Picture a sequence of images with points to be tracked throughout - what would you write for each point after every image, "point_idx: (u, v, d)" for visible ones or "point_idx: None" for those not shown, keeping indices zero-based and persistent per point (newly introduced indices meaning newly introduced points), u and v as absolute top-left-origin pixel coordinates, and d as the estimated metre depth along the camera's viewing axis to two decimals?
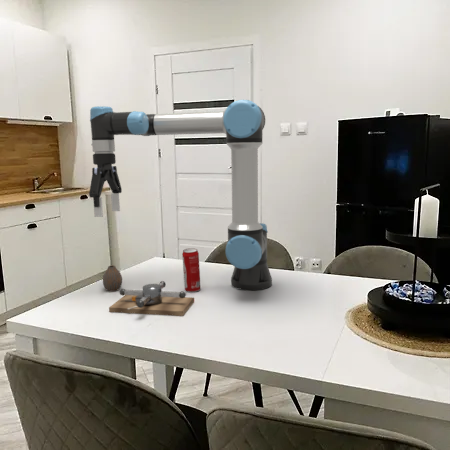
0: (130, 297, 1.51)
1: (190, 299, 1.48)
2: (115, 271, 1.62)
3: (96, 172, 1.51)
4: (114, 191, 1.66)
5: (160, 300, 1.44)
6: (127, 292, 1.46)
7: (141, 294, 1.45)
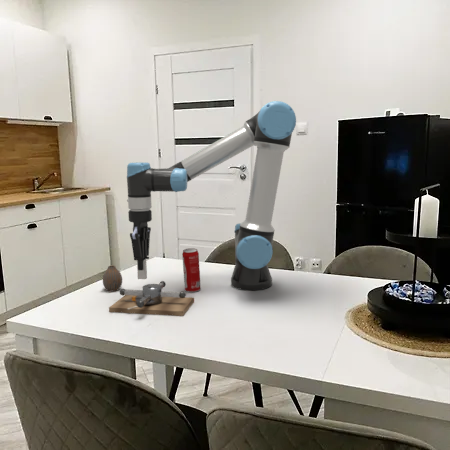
0: (130, 297, 1.51)
1: (190, 299, 1.48)
2: (115, 271, 1.62)
3: (135, 238, 1.45)
4: None
5: (160, 300, 1.44)
6: (127, 292, 1.46)
7: (141, 294, 1.45)
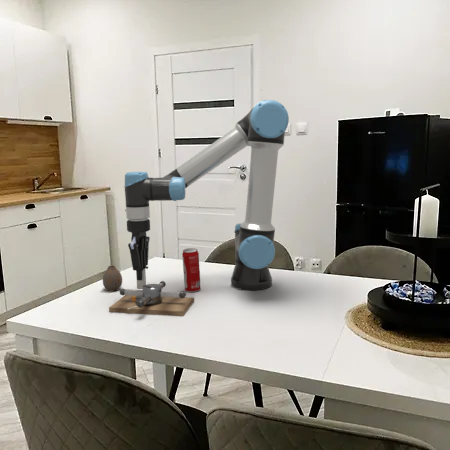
0: (130, 297, 1.51)
1: (190, 299, 1.48)
2: (115, 270, 1.62)
3: (133, 248, 1.44)
4: None
5: (160, 300, 1.44)
6: (127, 292, 1.46)
7: (141, 294, 1.45)
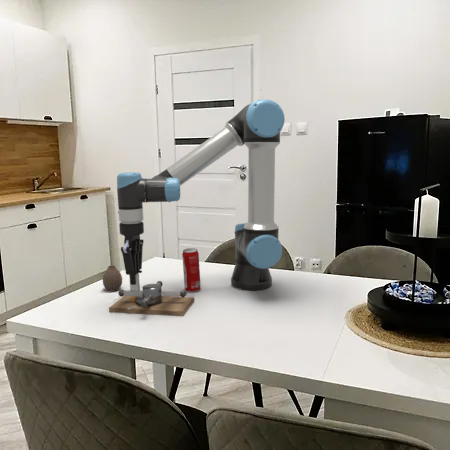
0: (130, 297, 1.51)
1: (190, 299, 1.48)
2: (115, 271, 1.62)
3: (126, 252, 1.39)
4: None
5: (160, 300, 1.44)
6: (127, 293, 1.45)
7: (141, 294, 1.45)
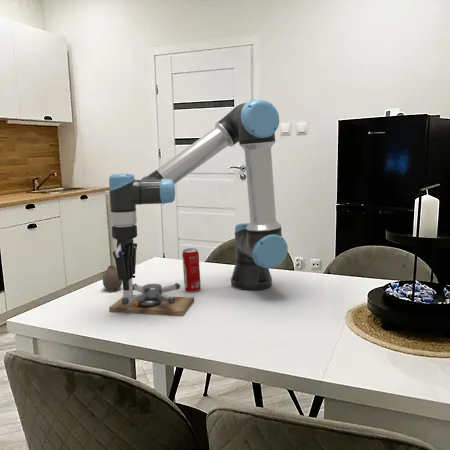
0: None
1: (190, 299, 1.48)
2: (115, 271, 1.62)
3: (118, 257, 1.34)
4: None
5: None
6: (131, 299, 1.39)
7: (144, 297, 1.42)
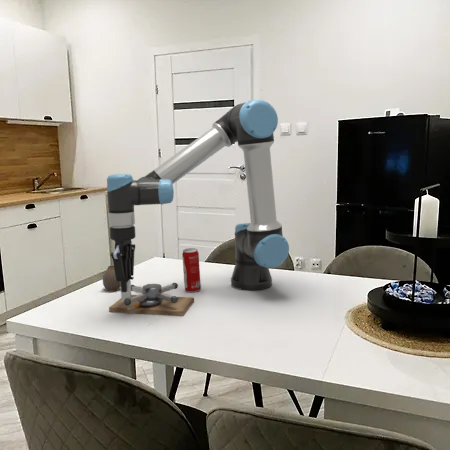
0: None
1: (190, 299, 1.48)
2: None
3: (116, 258, 1.32)
4: None
5: None
6: (133, 300, 1.38)
7: (145, 297, 1.42)
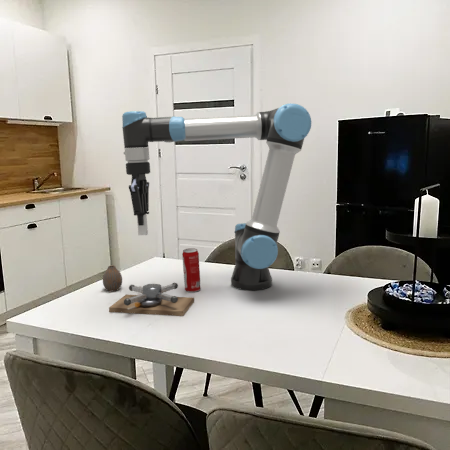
0: (130, 297, 1.51)
1: (190, 299, 1.48)
2: (115, 270, 1.62)
3: (134, 190, 1.39)
4: None
5: None
6: (133, 300, 1.38)
7: (145, 297, 1.42)
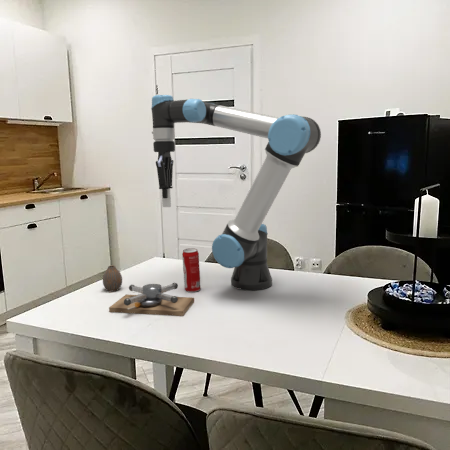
0: (130, 297, 1.51)
1: (190, 299, 1.48)
2: (115, 271, 1.62)
3: (160, 166, 1.56)
4: None
5: None
6: (133, 300, 1.38)
7: (145, 297, 1.42)
